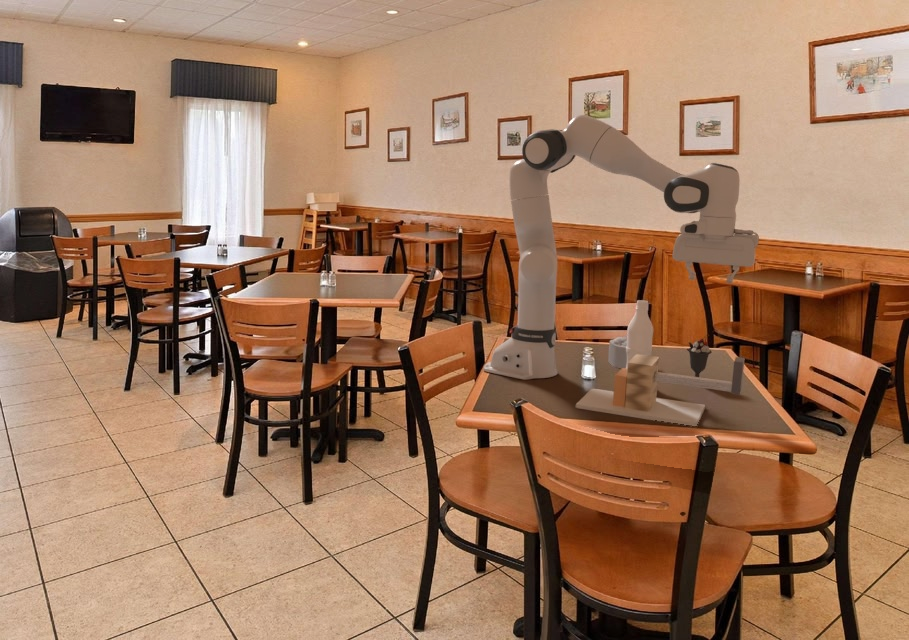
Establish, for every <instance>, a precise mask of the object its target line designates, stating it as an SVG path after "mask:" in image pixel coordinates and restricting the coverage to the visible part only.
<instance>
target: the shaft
mask: <svg viewBox="0 0 909 640" xmlns="http://www.w3.org/2000/svg"><path fill="white" fill-rule="evenodd" d="M744 369H745V357H740V356H736V357H735V358H734V362H733V369H732V370H733V372H732V379H731V380H732V381H729V380H724V379H723V380H721V379H715V378H714V379H713V378H705V377H701V376H699V377H695V376H692V375H691V376H690V375H683V374H678V373H677V374H676V373H669V372H661V371H658V372H654V381H656V382H658V383H663V384H664V383H665V384H672V385H679V386H686V387H693V388H694V387H695V388H701V389H702V388H703V389H708V390H709V389H710V390H715V391H716V390H717V391H721V392H722V391H723V392H729V393H731V394H733V395H741V392H742V387H743V379H744V371H745V370H744Z"/></svg>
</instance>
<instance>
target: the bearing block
mask: <svg viewBox="0 0 909 640" xmlns="http://www.w3.org/2000/svg"><path fill="white" fill-rule="evenodd" d="M659 367H660V356H655V355H654V356H653V355H651V356H647V355H639V354H636V355H635V356H634V357H633V358H632V359H631V360H630V361H629V362H628V371H627V385H626V399H625V408H627V409H634V410H640V411H646V412H649V411H650V409H651V408H652V406H653V405H654V403H655V402H656V398H657V393H658V383H659V382H656V381H654V372H659Z"/></svg>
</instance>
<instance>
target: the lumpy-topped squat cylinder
mask: <svg viewBox="0 0 909 640" xmlns="http://www.w3.org/2000/svg"><path fill="white" fill-rule="evenodd" d="M626 346H627V336H617V337H615V338H614V339H610V340H609V346H608V359H607V360H608V362H609V363H610V364H611V365H610V364H609V363H608V364H609V365H610V366H612V367H613V366H614V367H613V368H615V367H617V368H616V369H619V368H621V369H622V368H625V369H626V364H627V353H626ZM621 369H620V370H621Z"/></svg>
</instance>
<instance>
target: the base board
mask: <svg viewBox="0 0 909 640" xmlns="http://www.w3.org/2000/svg"><path fill="white" fill-rule="evenodd" d="M613 395H614V390H613V391H612V390H605V389H598V388H591V389H590V390H589V391H587V393H586V394H585V395H584V396H583V397H581V398H580V400H579V401H577V402H576V404H575V409H580V410H586V411H591V412H592V411H593V412H599V413H603V414H604V413H606V414H612V415H618V416H624V417H631V418H636V419H637V418H638V419H643V420H648V421H655V420H657V421H656V422H661V421H664V422H663V423H667V422H671V423H670V424H673V423H678V424H677V425H680V424H684V425H683V426H686V425H692V426H697V427H698V425H699V423H700V421H699V420H701V418H702V416H703V414H704V411H705V408H706V405H705V404H701V403H694V402H688V401H681V400H674V399H667V398H660V397H656V402H655V403H654V405H653V406H652V408H651V409H650V411H649V412H646V411H640V410H634V409H627V408H625V407H622V406H616V405H613ZM698 422H699V423H698ZM697 424H698V425H697ZM692 426H691V427H692Z"/></svg>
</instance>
